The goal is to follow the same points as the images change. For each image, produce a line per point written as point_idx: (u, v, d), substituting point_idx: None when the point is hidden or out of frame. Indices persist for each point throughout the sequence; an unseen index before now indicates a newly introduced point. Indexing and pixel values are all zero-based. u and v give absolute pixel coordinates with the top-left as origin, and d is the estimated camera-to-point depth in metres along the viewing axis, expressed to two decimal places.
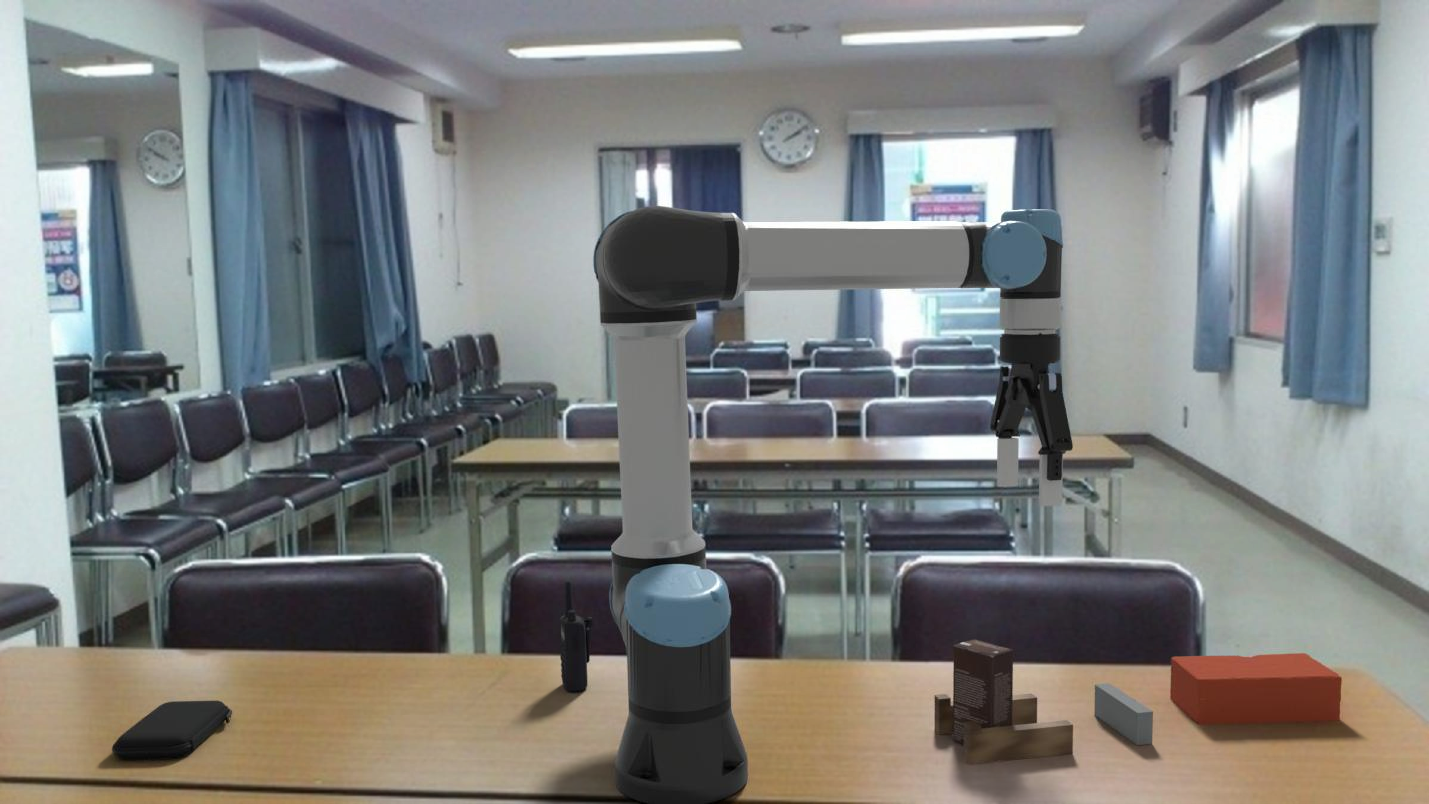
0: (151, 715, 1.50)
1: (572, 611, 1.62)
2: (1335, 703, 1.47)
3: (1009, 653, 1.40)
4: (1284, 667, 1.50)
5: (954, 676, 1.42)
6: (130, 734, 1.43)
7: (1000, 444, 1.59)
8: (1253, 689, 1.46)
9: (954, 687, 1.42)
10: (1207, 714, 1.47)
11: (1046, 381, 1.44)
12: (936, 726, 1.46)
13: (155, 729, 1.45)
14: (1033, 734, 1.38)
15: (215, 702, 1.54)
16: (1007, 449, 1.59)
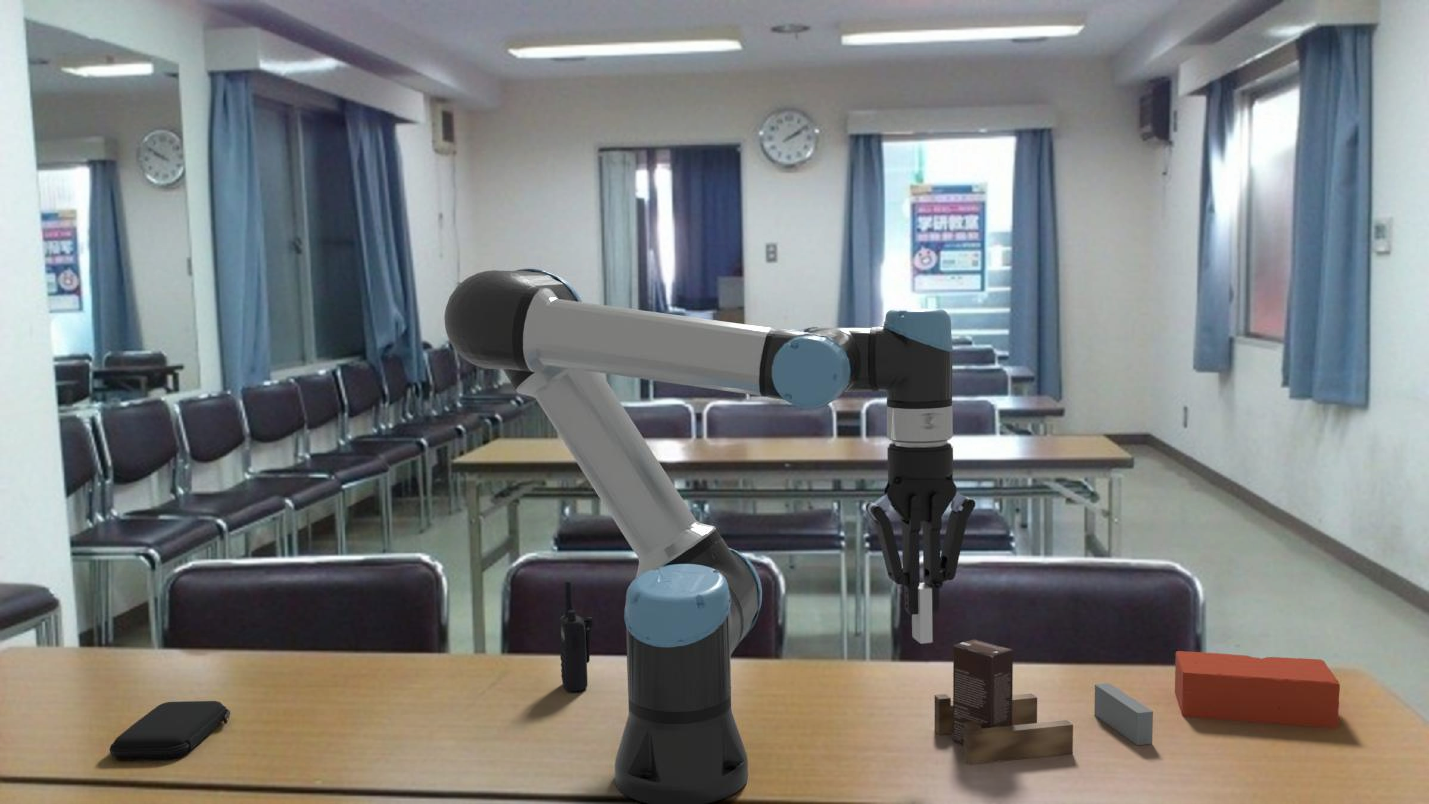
0: (149, 715, 1.50)
1: (572, 611, 1.62)
2: (1332, 710, 1.45)
3: (1009, 653, 1.40)
4: (1286, 669, 1.49)
5: (954, 676, 1.42)
6: (127, 735, 1.43)
7: None
8: (1241, 687, 1.47)
9: (954, 687, 1.42)
10: (1192, 707, 1.49)
11: (869, 513, 1.37)
12: (936, 726, 1.46)
13: (153, 730, 1.45)
14: (1033, 734, 1.38)
15: (213, 702, 1.54)
16: None
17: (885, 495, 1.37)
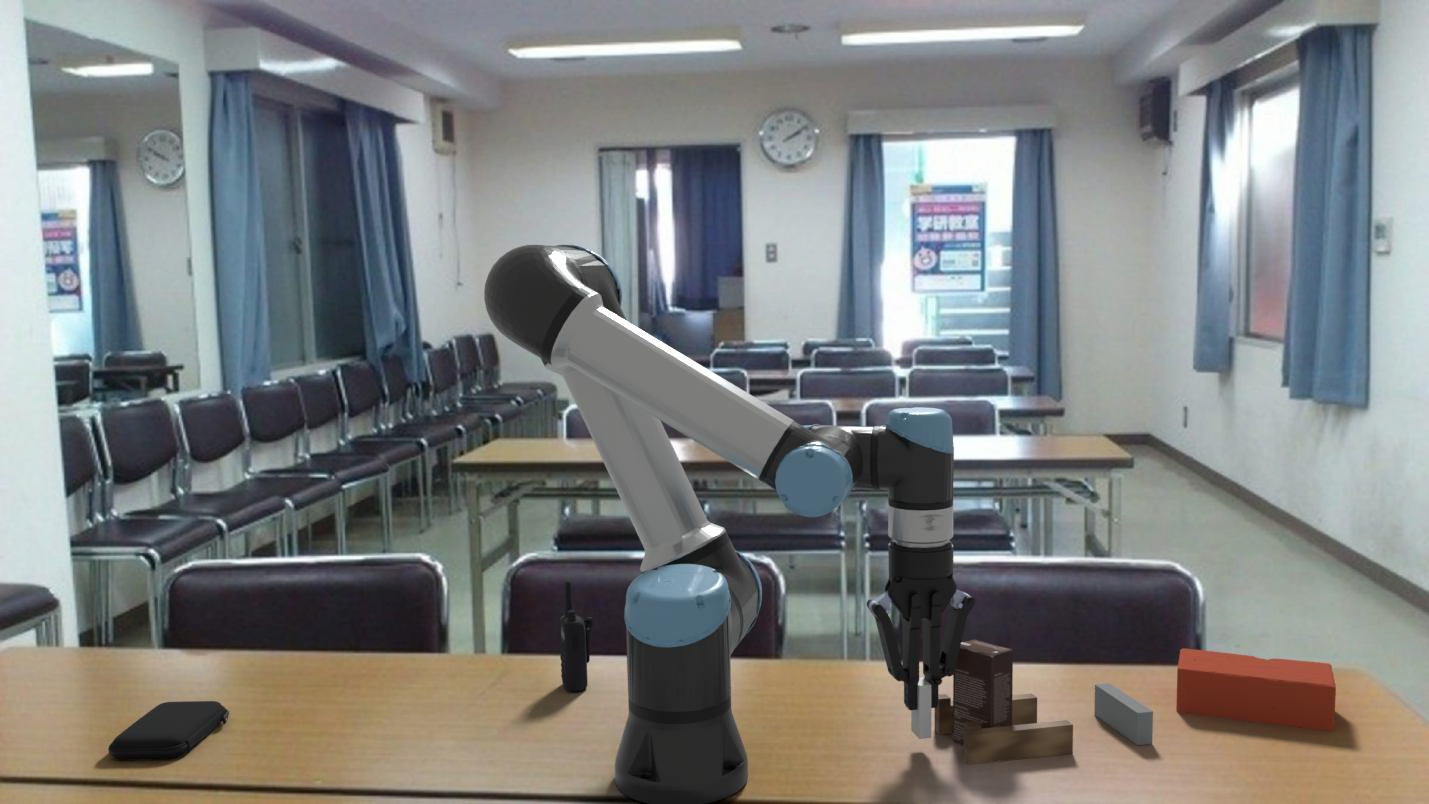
0: (148, 715, 1.50)
1: (572, 611, 1.62)
2: (1328, 713, 1.44)
3: (1009, 653, 1.40)
4: (1285, 671, 1.49)
5: (954, 676, 1.42)
6: (126, 735, 1.43)
7: None
8: (1235, 686, 1.48)
9: (954, 687, 1.42)
10: (1186, 703, 1.50)
11: (870, 610, 1.38)
12: (936, 726, 1.46)
13: (152, 730, 1.45)
14: (1033, 734, 1.38)
15: (212, 702, 1.54)
16: None
17: (886, 592, 1.38)
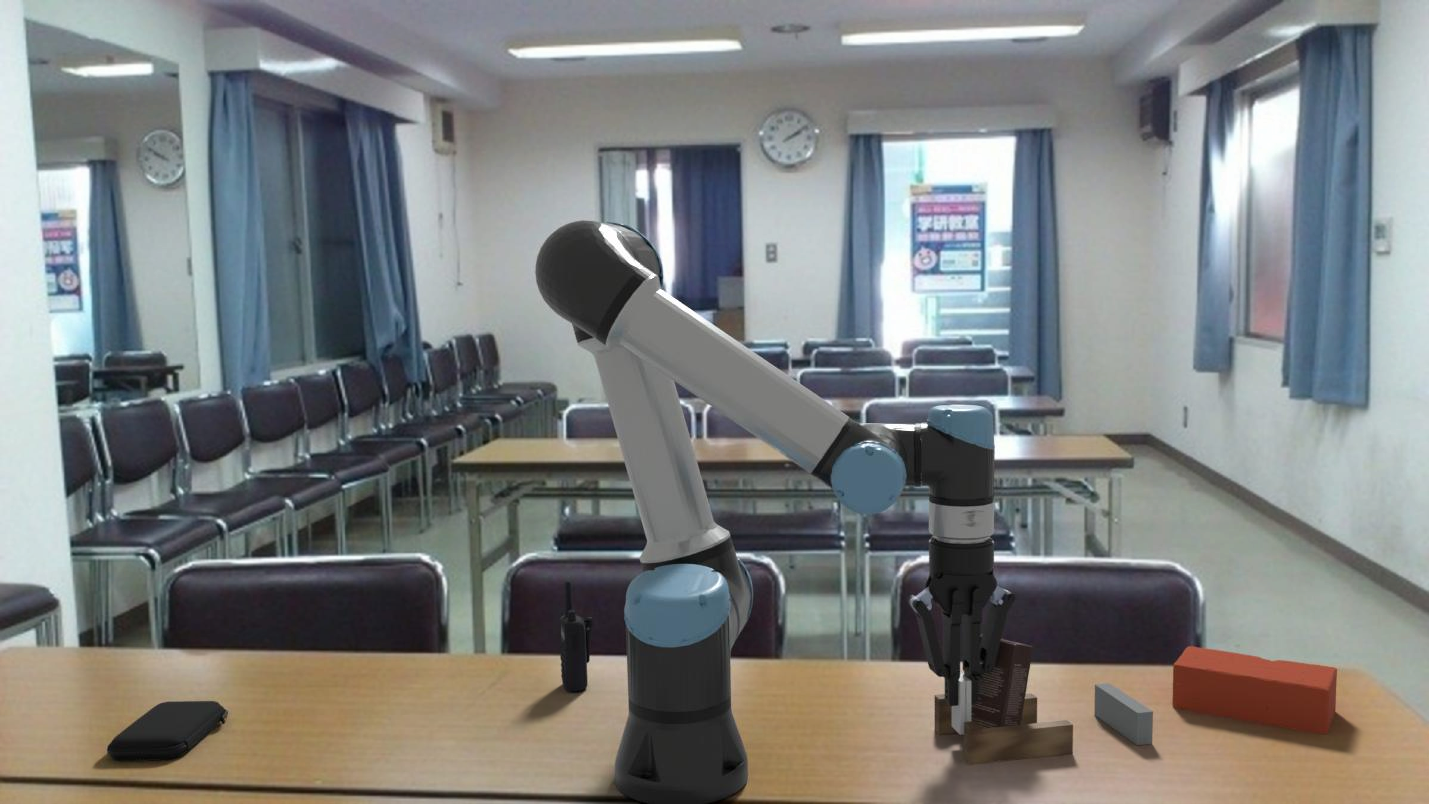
0: (147, 715, 1.50)
1: (572, 611, 1.62)
2: (1321, 715, 1.43)
3: (1029, 649, 1.42)
4: (1284, 672, 1.48)
5: None
6: (125, 735, 1.43)
7: None
8: (1229, 684, 1.48)
9: None
10: (1181, 699, 1.52)
11: (911, 606, 1.39)
12: (936, 726, 1.46)
13: (151, 730, 1.45)
14: (1033, 734, 1.38)
15: (211, 702, 1.54)
16: None
17: (927, 588, 1.39)
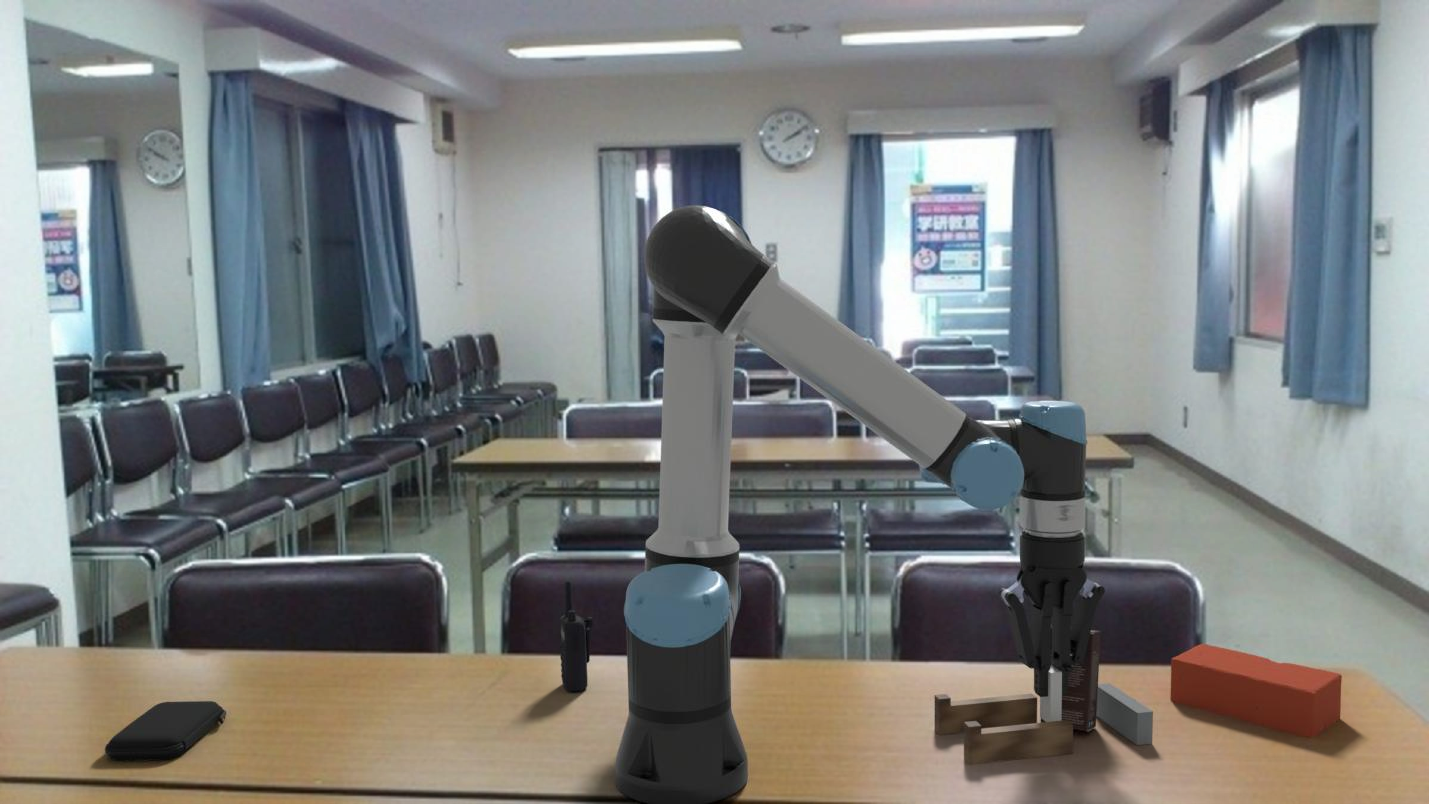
0: (145, 715, 1.50)
1: (572, 611, 1.62)
2: (1307, 718, 1.42)
3: (1099, 634, 1.46)
4: (1281, 674, 1.48)
5: None
6: (122, 735, 1.43)
7: None
8: (1221, 681, 1.50)
9: None
10: (1178, 693, 1.54)
11: (1002, 599, 1.42)
12: (936, 726, 1.46)
13: (148, 730, 1.45)
14: (1033, 734, 1.38)
15: (209, 703, 1.54)
16: None
17: (1018, 581, 1.41)
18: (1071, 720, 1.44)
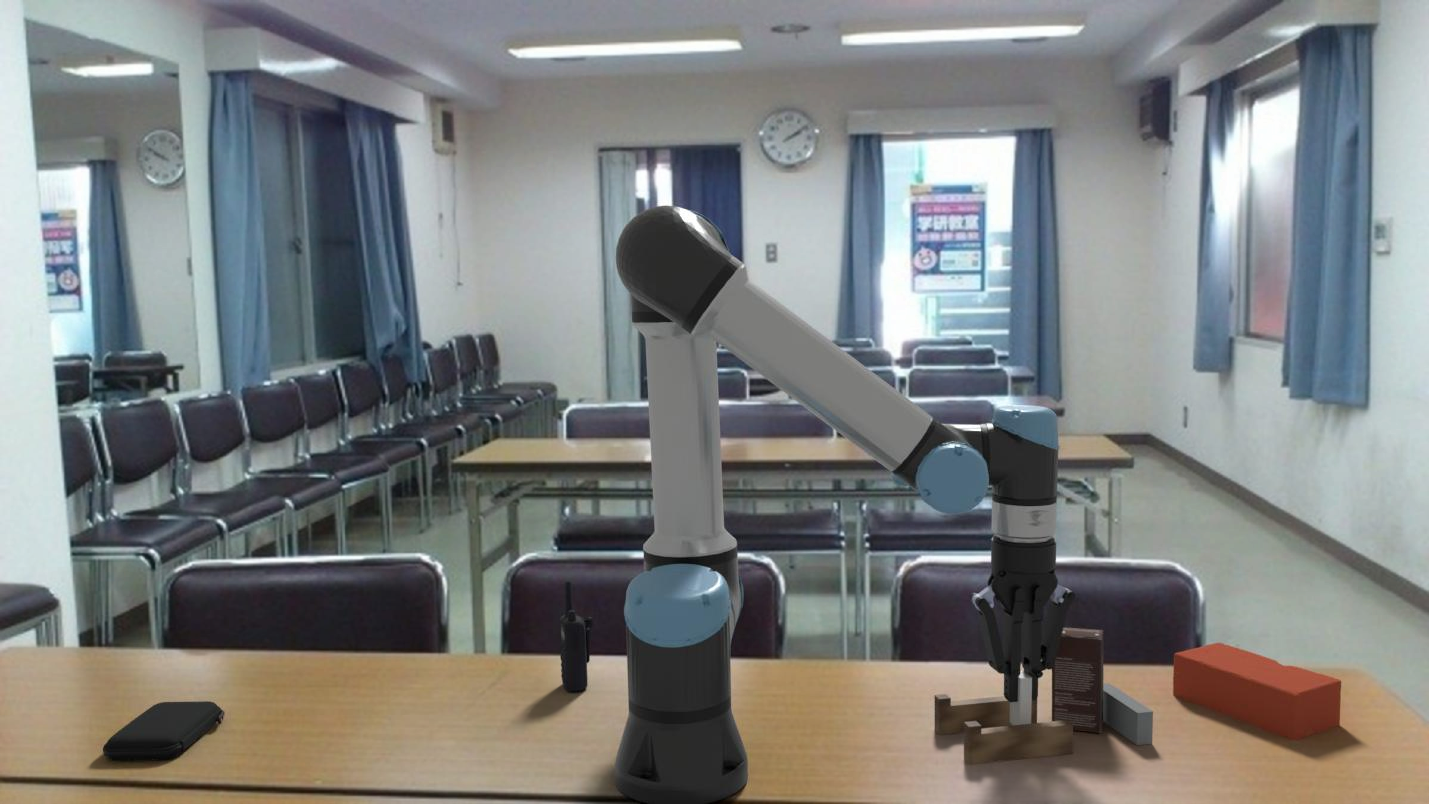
0: (143, 715, 1.50)
1: (572, 611, 1.62)
2: (1289, 720, 1.42)
3: (1103, 634, 1.46)
4: (1276, 675, 1.47)
5: None
6: (120, 735, 1.43)
7: None
8: (1215, 678, 1.51)
9: (1054, 675, 1.46)
10: (1179, 688, 1.56)
11: (973, 604, 1.41)
12: (936, 726, 1.46)
13: (146, 730, 1.45)
14: (1033, 734, 1.38)
15: (207, 703, 1.54)
16: None
17: (989, 586, 1.40)
18: (1084, 723, 1.45)
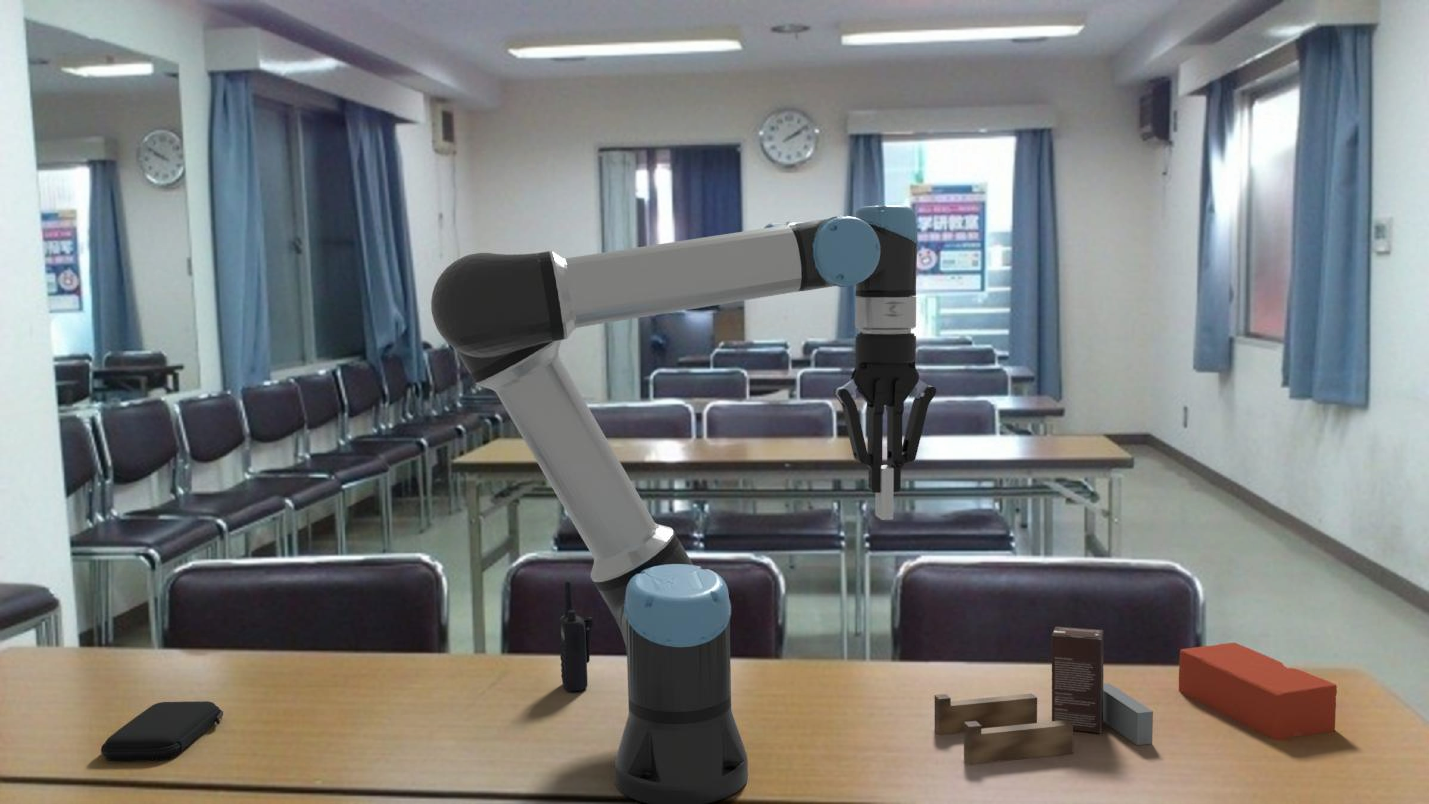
0: (141, 716, 1.50)
1: (572, 611, 1.62)
2: (1272, 719, 1.42)
3: (1103, 634, 1.46)
4: (1270, 675, 1.47)
5: (1053, 665, 1.46)
6: (118, 735, 1.43)
7: None
8: (1212, 675, 1.52)
9: (1054, 675, 1.46)
10: (1183, 684, 1.57)
11: (837, 397, 1.48)
12: (936, 726, 1.46)
13: (145, 730, 1.45)
14: (1033, 734, 1.38)
15: (206, 703, 1.54)
16: None
17: (852, 380, 1.47)
18: (1084, 723, 1.45)
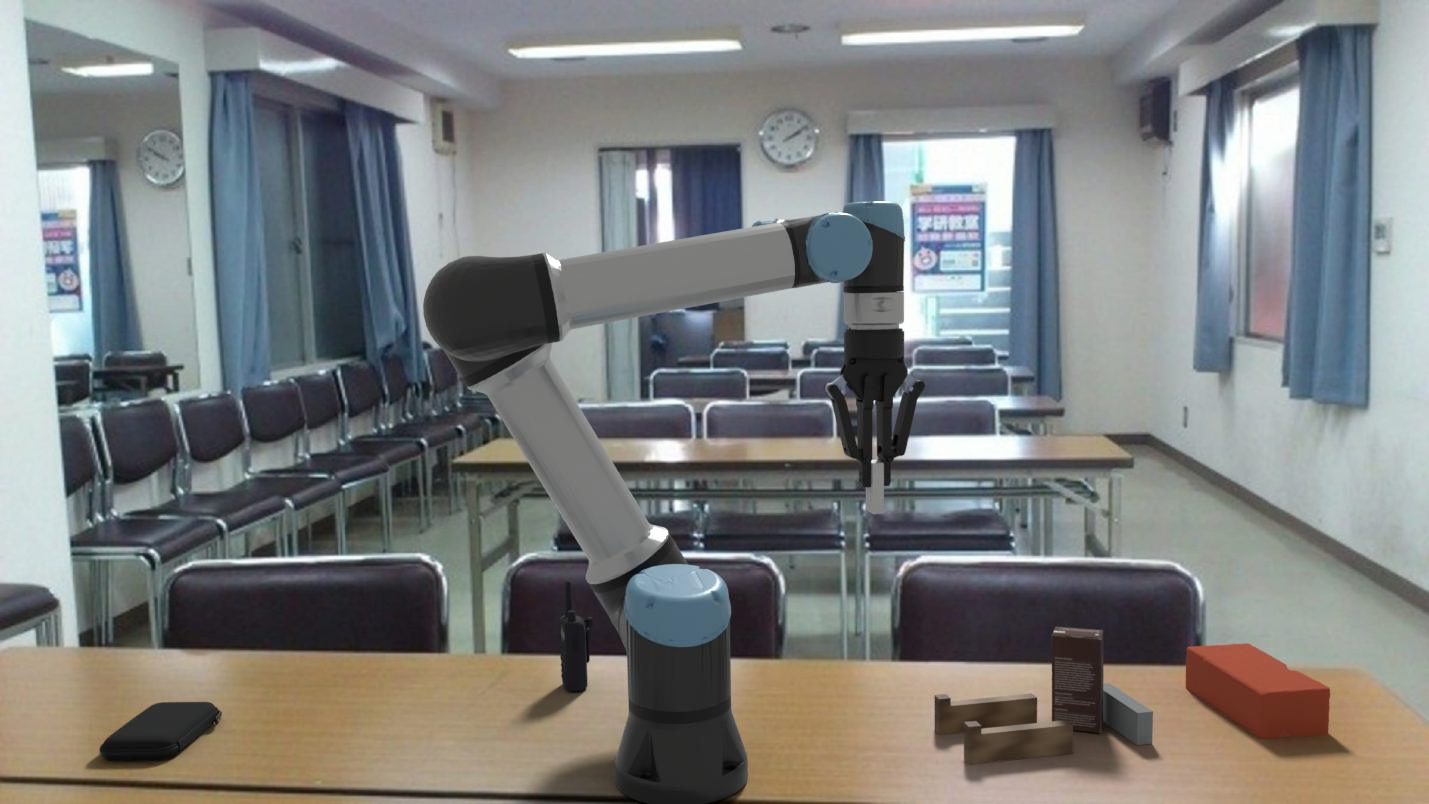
0: (140, 716, 1.50)
1: (572, 611, 1.62)
2: (1257, 718, 1.42)
3: (1103, 634, 1.46)
4: (1265, 676, 1.47)
5: (1053, 665, 1.46)
6: (117, 735, 1.43)
7: None
8: (1211, 673, 1.53)
9: (1054, 675, 1.46)
10: (1188, 681, 1.58)
11: (826, 393, 1.48)
12: (936, 726, 1.46)
13: (143, 731, 1.45)
14: (1033, 734, 1.38)
15: (205, 703, 1.54)
16: None
17: (841, 375, 1.48)
18: (1084, 723, 1.45)
